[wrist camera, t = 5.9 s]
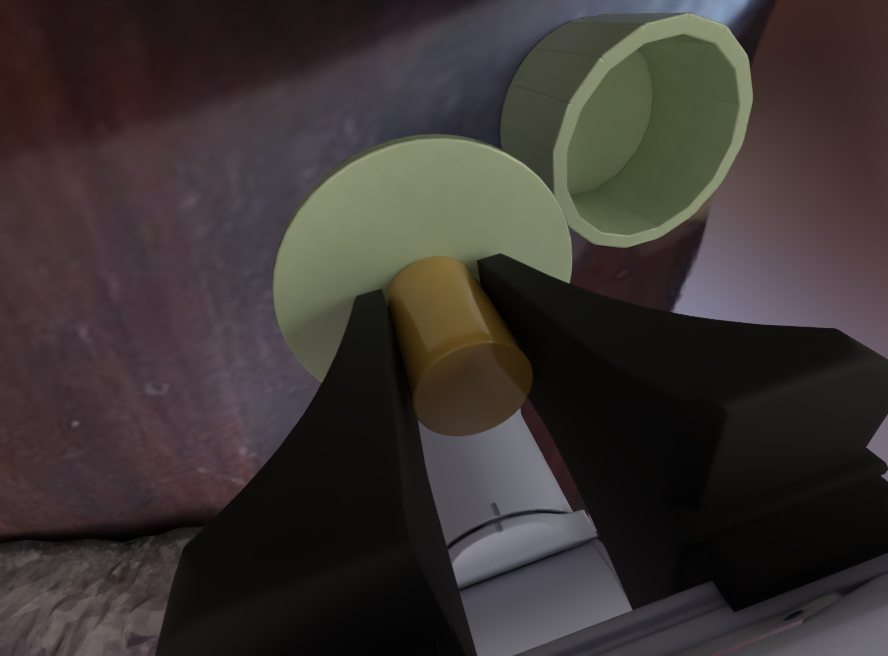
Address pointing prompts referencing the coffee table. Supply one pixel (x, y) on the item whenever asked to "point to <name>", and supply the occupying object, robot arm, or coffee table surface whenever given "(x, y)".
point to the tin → (630, 120)
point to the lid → (422, 269)
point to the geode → (87, 594)
